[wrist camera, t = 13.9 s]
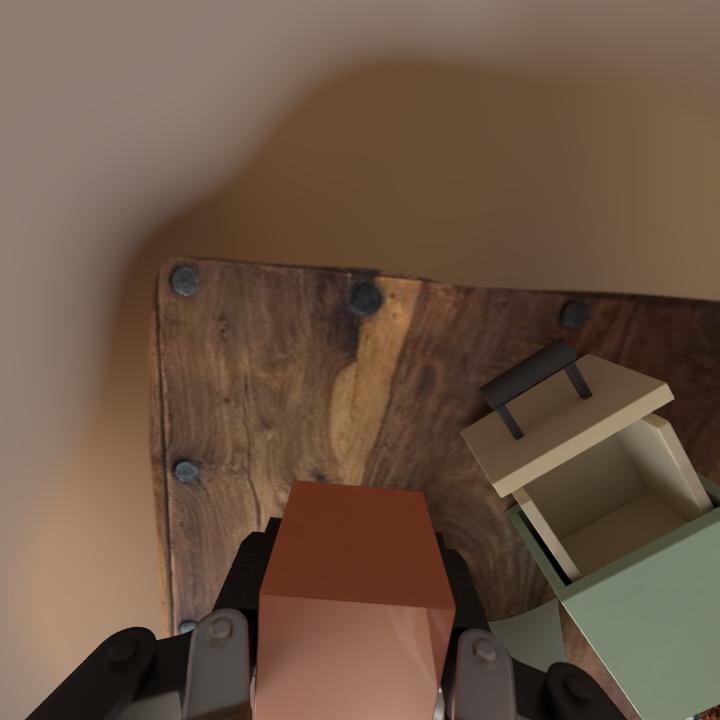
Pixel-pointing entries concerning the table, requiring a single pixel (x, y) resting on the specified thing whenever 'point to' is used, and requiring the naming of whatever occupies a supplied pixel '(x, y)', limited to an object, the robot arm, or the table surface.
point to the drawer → (586, 456)
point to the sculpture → (528, 640)
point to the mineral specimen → (707, 714)
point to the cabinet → (651, 613)
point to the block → (352, 608)
